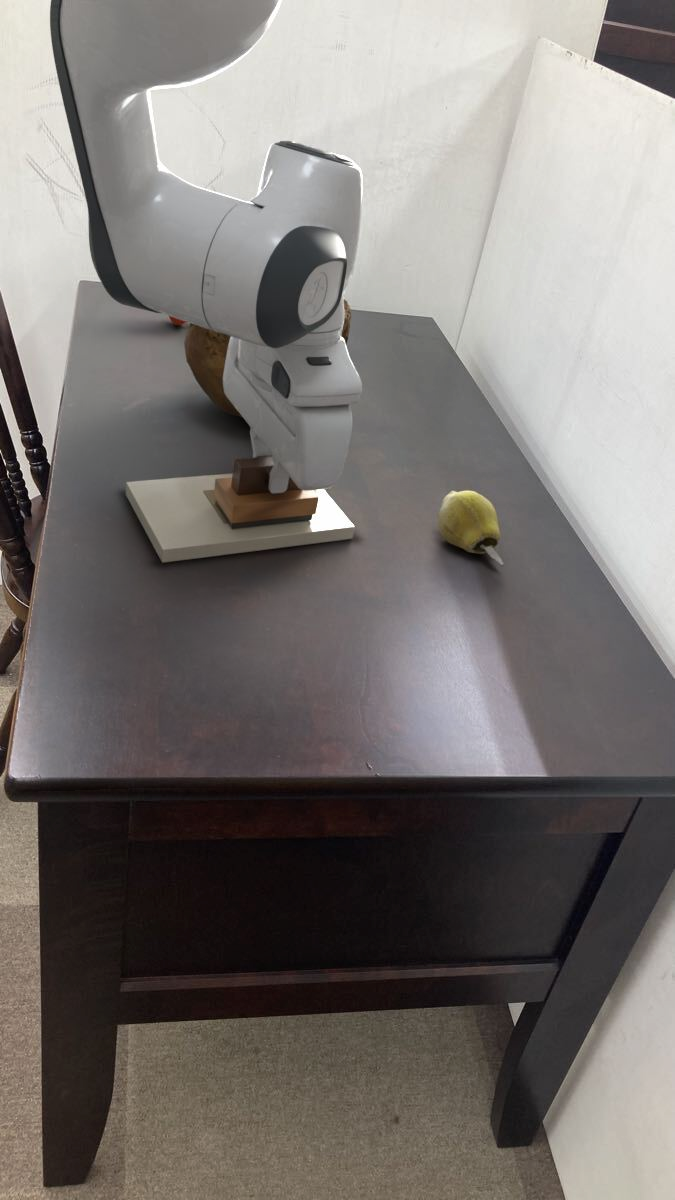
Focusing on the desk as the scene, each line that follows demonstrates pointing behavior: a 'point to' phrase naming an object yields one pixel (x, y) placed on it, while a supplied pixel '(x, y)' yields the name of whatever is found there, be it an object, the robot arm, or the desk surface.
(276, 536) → the tile
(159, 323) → the desk surface
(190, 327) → the bowl
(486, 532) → the fruit
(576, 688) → the desk surface
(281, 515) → the brush
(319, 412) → the robot arm
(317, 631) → the desk surface
